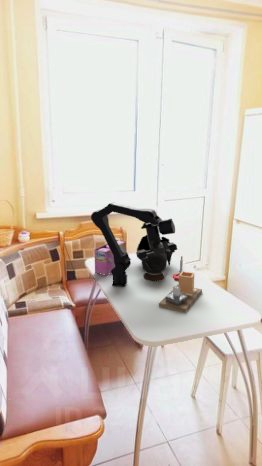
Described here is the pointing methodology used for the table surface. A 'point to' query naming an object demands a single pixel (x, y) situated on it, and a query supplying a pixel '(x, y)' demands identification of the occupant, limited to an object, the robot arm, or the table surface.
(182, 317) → the table surface
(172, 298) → the vise
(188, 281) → the tan cardboard box
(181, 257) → the tow hook
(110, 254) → the gum box
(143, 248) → the bowl of black rocks
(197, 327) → the table surface
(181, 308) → the board
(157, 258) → the black ball on stand
